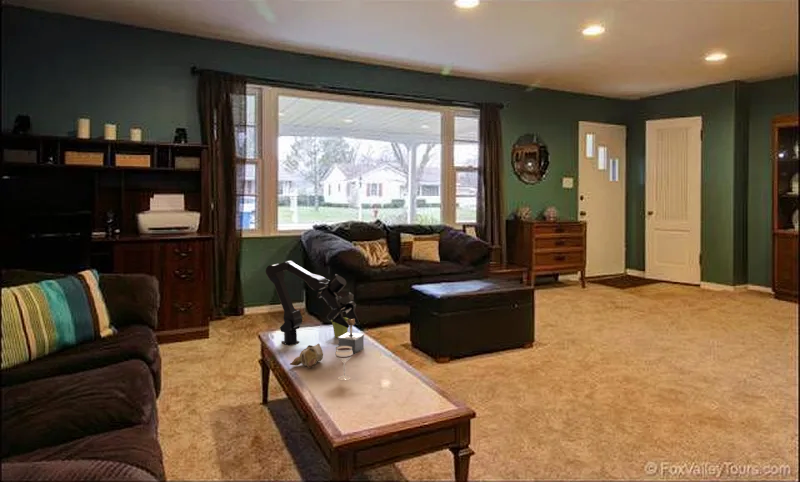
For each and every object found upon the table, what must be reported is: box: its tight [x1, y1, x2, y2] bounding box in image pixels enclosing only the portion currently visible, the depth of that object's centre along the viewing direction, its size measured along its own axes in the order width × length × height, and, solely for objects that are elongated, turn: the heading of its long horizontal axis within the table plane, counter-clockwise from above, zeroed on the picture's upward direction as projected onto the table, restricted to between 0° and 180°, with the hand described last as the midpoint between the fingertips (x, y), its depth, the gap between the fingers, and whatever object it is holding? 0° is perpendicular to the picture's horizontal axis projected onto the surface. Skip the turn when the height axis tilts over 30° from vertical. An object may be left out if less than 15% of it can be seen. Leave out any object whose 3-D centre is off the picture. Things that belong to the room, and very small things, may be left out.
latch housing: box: [337, 331, 365, 355], centre depth 234 cm, size 9×11×7 cm
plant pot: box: [330, 317, 349, 339], centre depth 255 cm, size 9×9×9 cm
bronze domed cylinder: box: [347, 317, 356, 336], centre depth 232 cm, size 4×4×9 cm
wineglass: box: [335, 345, 354, 381], centre depth 198 cm, size 7×7×12 cm
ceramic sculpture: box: [289, 343, 324, 369], centre depth 213 cm, size 11×9×15 cm
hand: (353, 324), depth 231 cm, fingers open, 9 cm apart
